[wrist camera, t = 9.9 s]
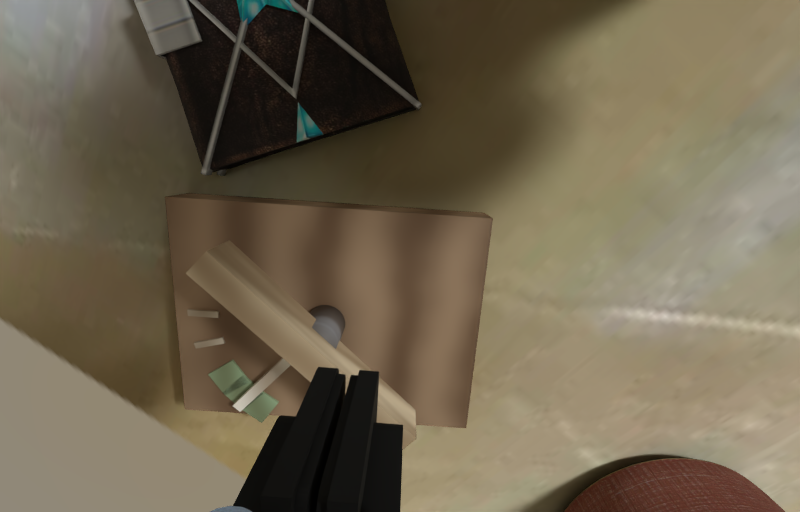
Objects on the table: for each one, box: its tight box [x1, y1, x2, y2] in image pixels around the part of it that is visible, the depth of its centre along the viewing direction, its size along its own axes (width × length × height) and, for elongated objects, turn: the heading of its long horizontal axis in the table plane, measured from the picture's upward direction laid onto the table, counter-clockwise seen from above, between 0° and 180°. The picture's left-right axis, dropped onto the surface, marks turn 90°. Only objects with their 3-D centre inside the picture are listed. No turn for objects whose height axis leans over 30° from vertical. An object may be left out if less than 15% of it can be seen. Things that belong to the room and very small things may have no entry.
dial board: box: [165, 193, 493, 428], centre depth 31 cm, size 24×20×3 cm
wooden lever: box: [186, 240, 416, 450], centre depth 27 cm, size 12×18×6 cm, turn 44°
